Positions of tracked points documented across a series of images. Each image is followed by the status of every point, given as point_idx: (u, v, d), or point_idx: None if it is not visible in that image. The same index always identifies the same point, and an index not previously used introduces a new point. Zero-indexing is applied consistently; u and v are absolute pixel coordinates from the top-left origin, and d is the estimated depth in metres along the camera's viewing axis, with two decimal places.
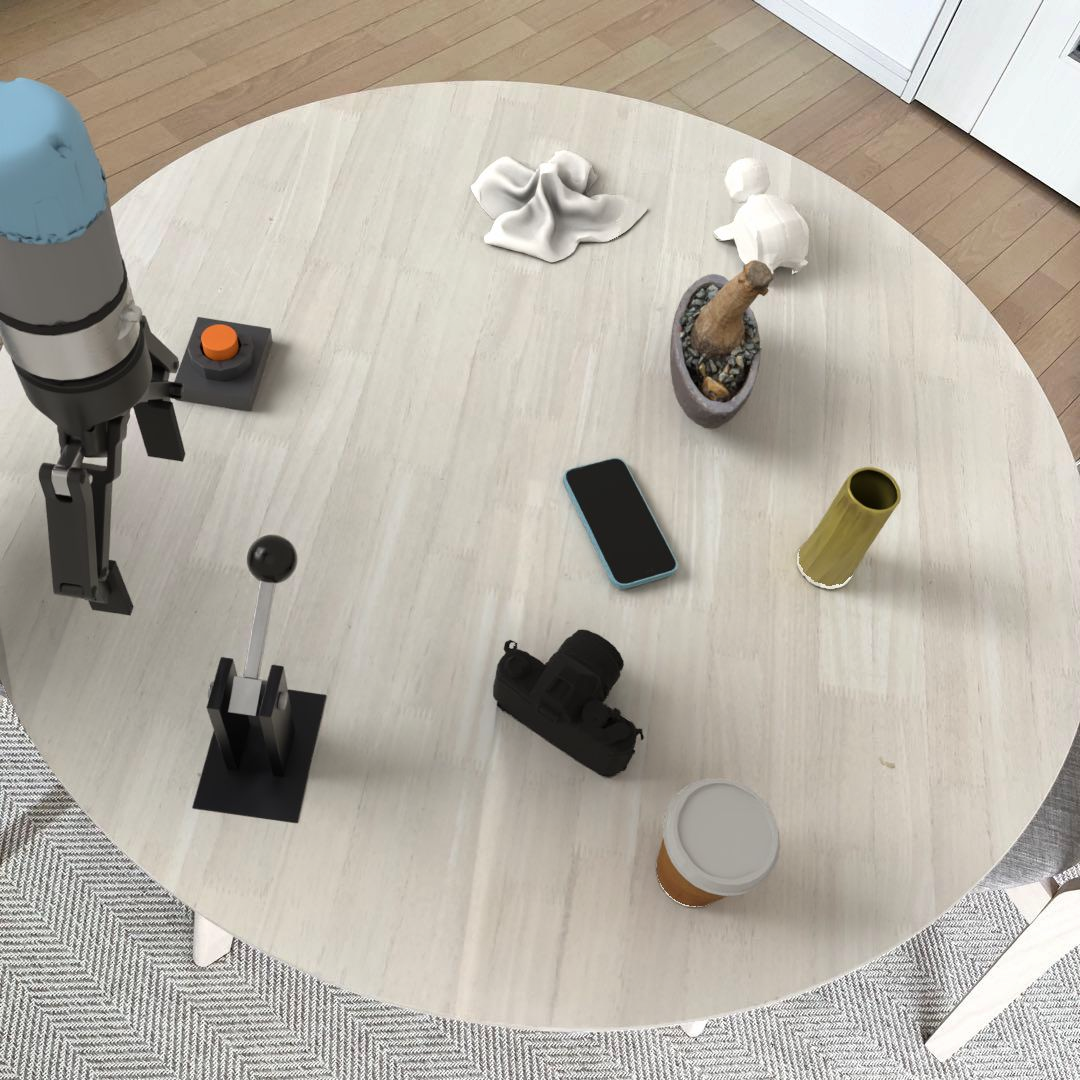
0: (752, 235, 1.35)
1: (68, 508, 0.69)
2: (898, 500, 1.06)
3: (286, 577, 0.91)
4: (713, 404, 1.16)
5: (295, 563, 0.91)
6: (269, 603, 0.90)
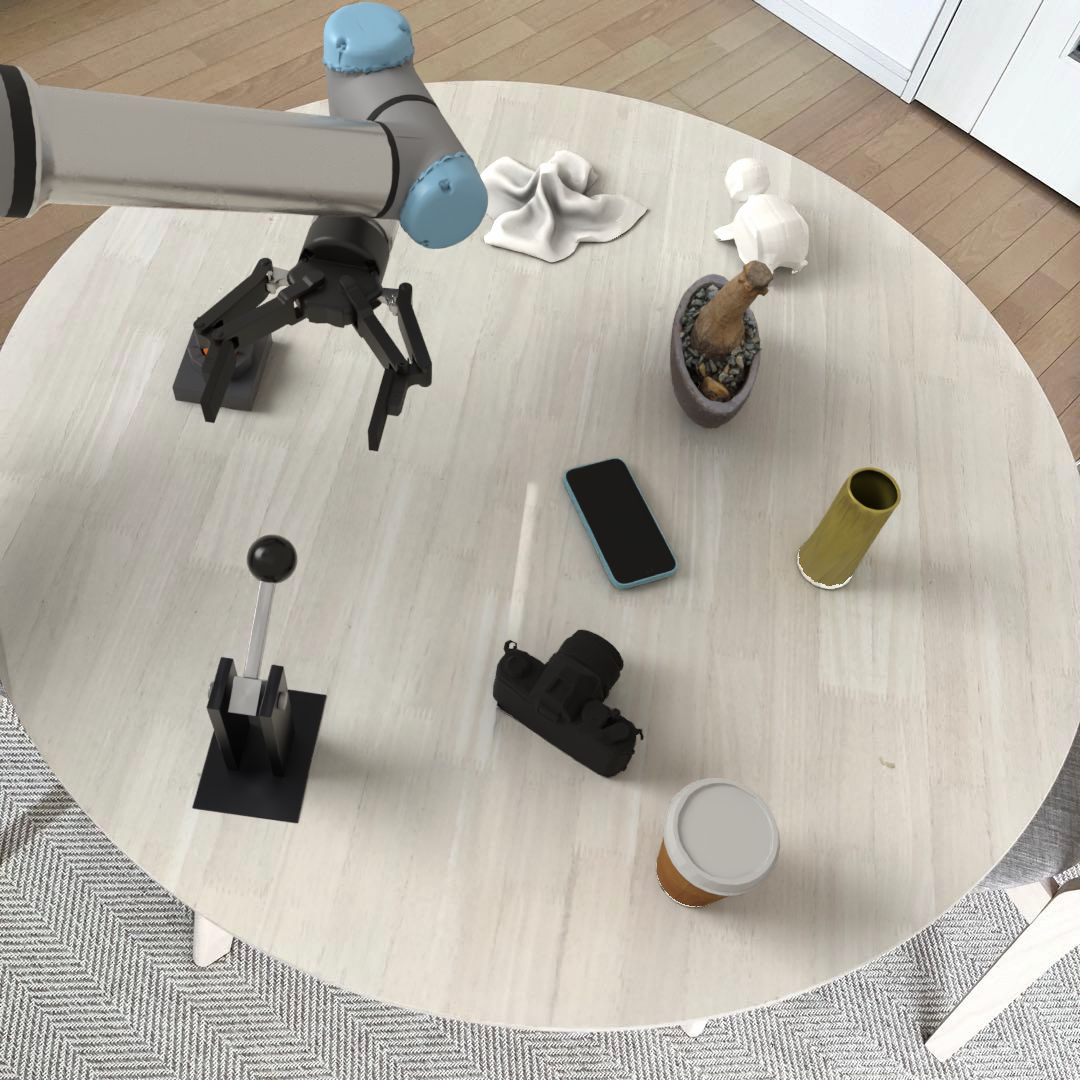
0: (752, 235, 1.35)
1: None
2: (898, 500, 1.06)
3: (286, 577, 0.91)
4: (713, 404, 1.16)
5: (295, 563, 0.91)
6: (269, 603, 0.90)
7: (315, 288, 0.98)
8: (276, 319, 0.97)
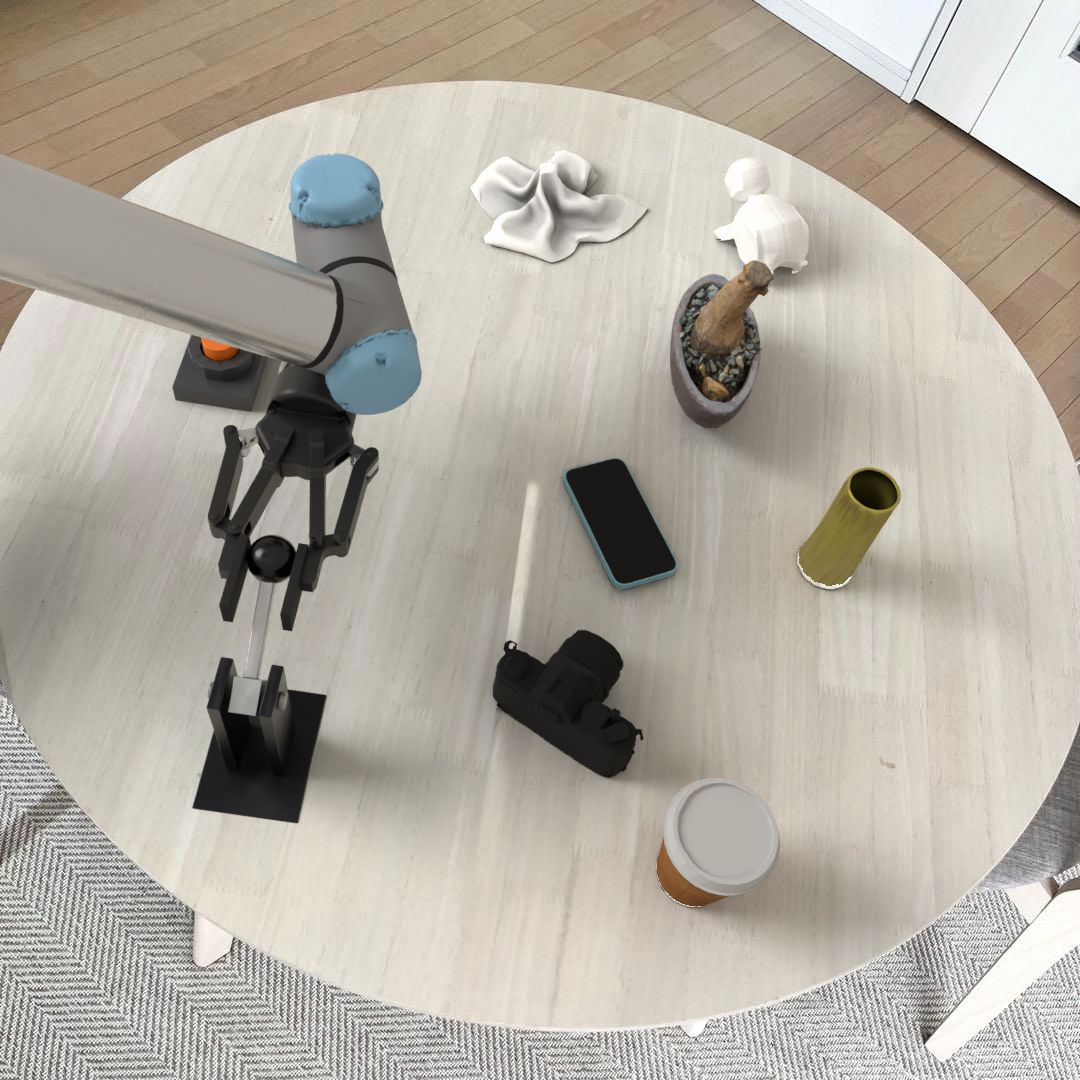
0: (752, 235, 1.35)
1: (365, 483, 0.96)
2: (898, 500, 1.06)
3: (286, 577, 0.91)
4: (713, 404, 1.16)
5: None
6: (269, 603, 0.90)
7: (290, 442, 0.96)
8: (270, 487, 0.94)
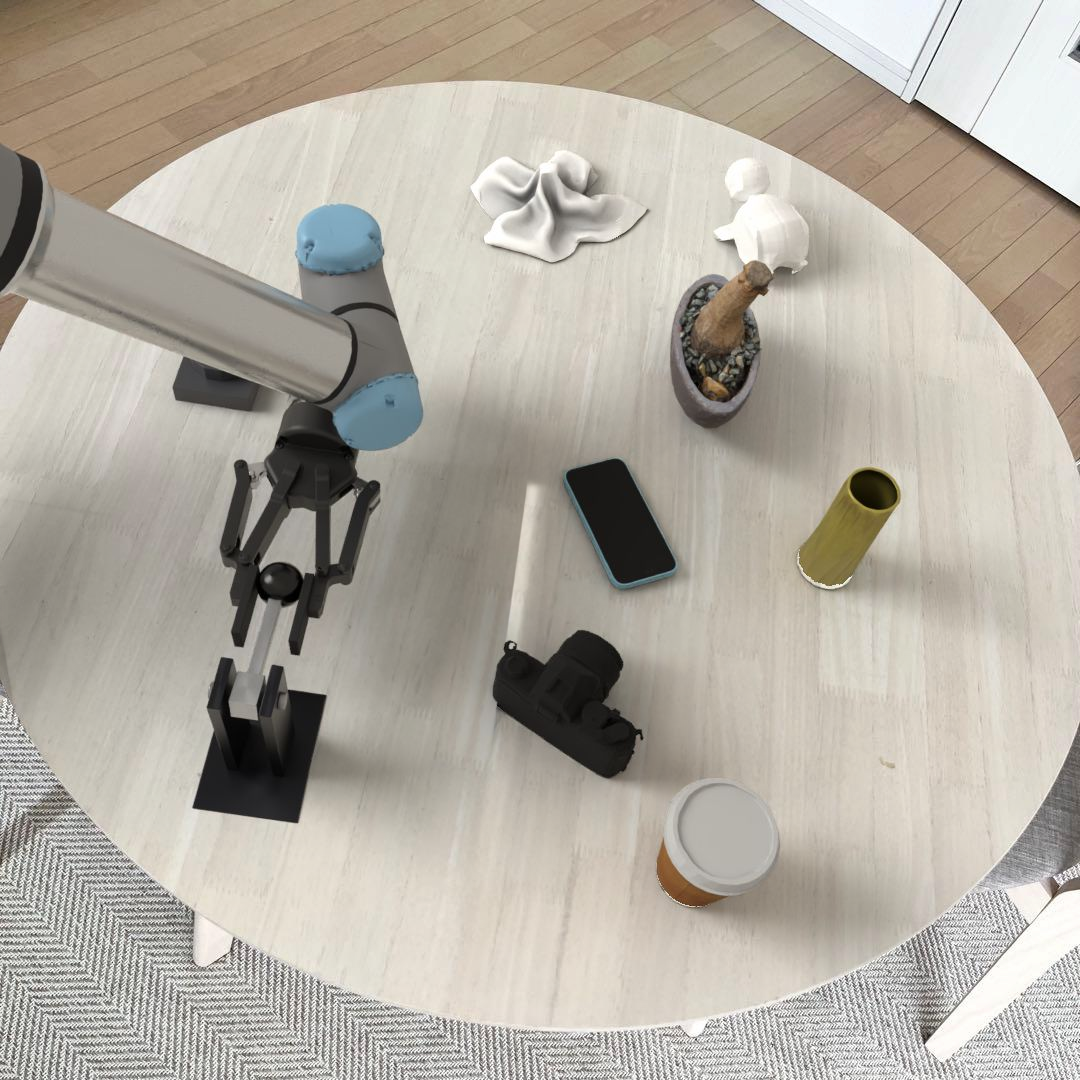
0: (752, 235, 1.35)
1: (368, 514, 1.02)
2: (898, 500, 1.06)
3: (293, 596, 0.95)
4: (713, 404, 1.16)
5: None
6: (276, 616, 0.94)
7: (297, 476, 1.01)
8: (278, 519, 1.00)
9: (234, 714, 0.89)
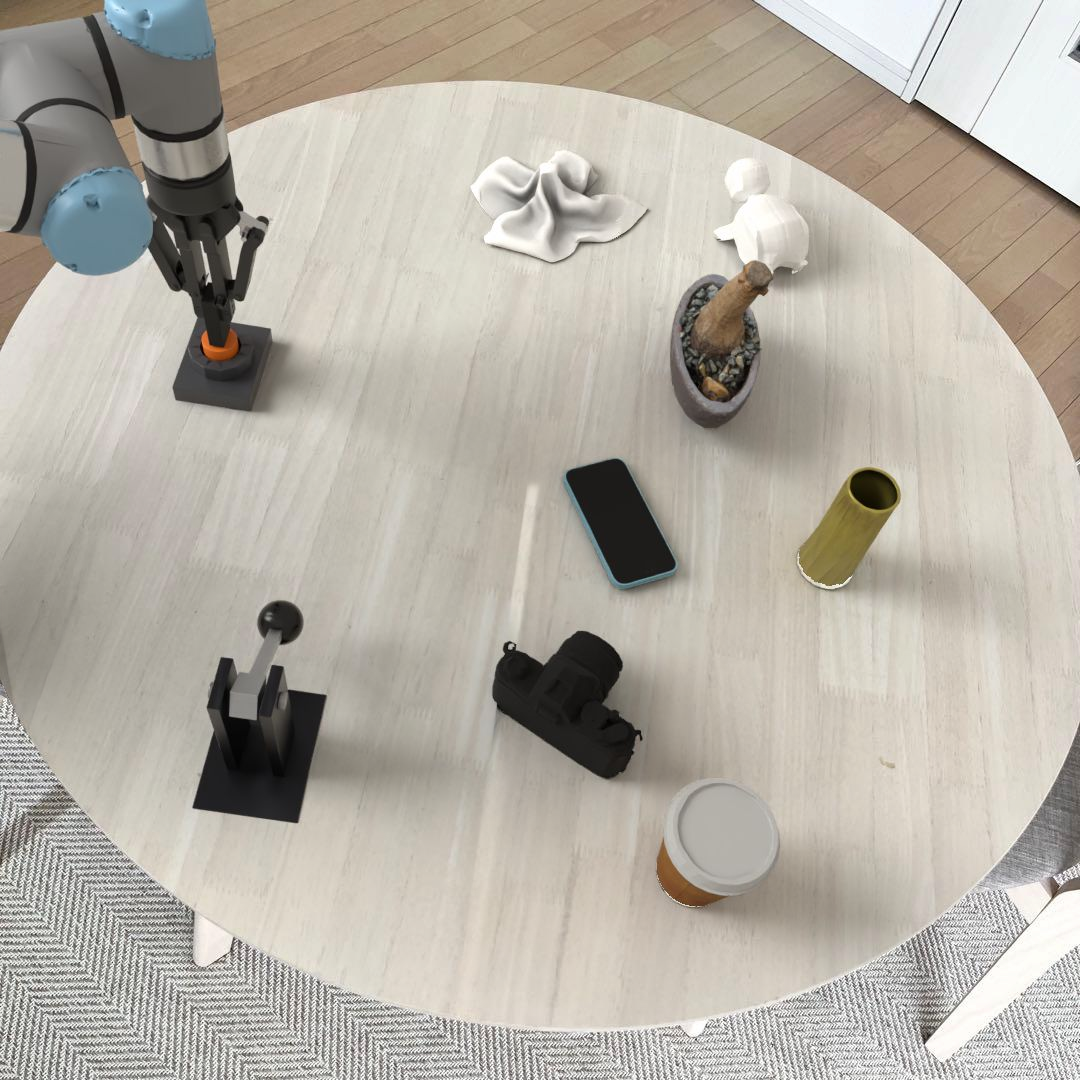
0: (752, 235, 1.35)
1: None
2: (898, 500, 1.06)
3: (293, 629, 0.98)
4: (713, 404, 1.16)
5: (302, 622, 0.99)
6: (276, 640, 0.96)
7: (186, 224, 1.03)
8: (196, 250, 1.07)
9: (233, 712, 0.89)
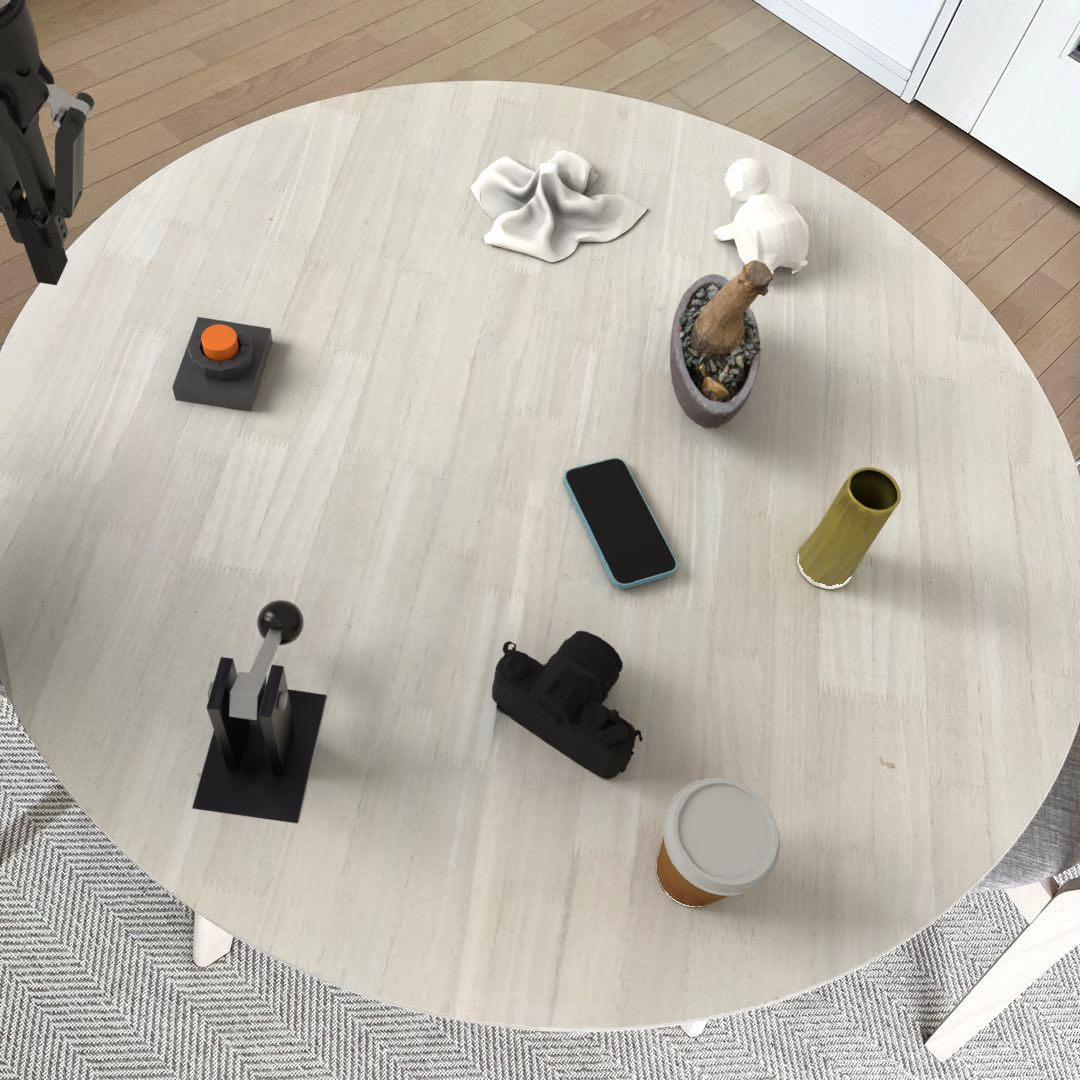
0: (752, 235, 1.35)
1: (79, 135, 0.77)
2: (898, 500, 1.06)
3: (293, 629, 0.98)
4: (713, 404, 1.16)
5: (302, 622, 0.99)
6: (276, 640, 0.96)
7: None
8: None
9: (233, 712, 0.89)
